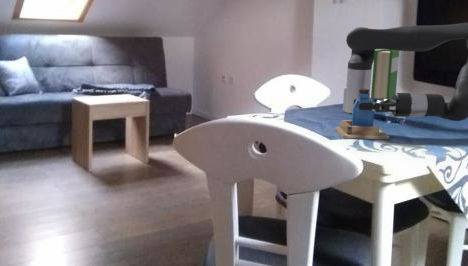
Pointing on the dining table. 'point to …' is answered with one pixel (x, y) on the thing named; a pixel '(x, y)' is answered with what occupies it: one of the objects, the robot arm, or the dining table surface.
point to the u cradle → (360, 131)
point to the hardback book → (384, 73)
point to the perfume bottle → (362, 115)
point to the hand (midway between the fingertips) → (356, 104)
